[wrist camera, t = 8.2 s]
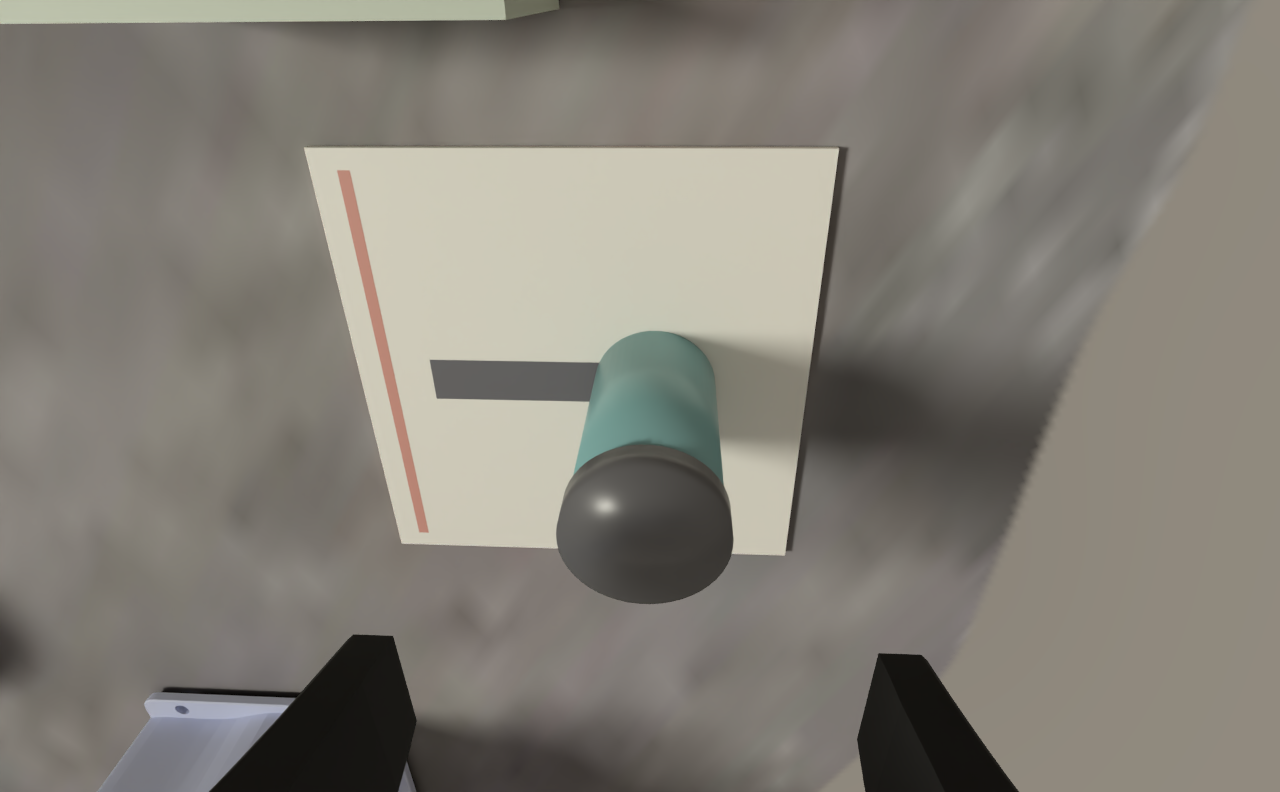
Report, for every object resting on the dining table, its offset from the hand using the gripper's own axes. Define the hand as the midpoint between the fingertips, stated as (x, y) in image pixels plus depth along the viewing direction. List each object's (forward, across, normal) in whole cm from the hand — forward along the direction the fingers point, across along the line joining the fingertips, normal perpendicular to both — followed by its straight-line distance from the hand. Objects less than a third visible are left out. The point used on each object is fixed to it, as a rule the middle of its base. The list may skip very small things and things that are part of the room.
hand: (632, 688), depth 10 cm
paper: (+9, +2, 0) cm, 10 cm away
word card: (+9, +6, -9) cm, 14 cm away
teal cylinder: (+9, 0, 0) cm, 9 cm away
